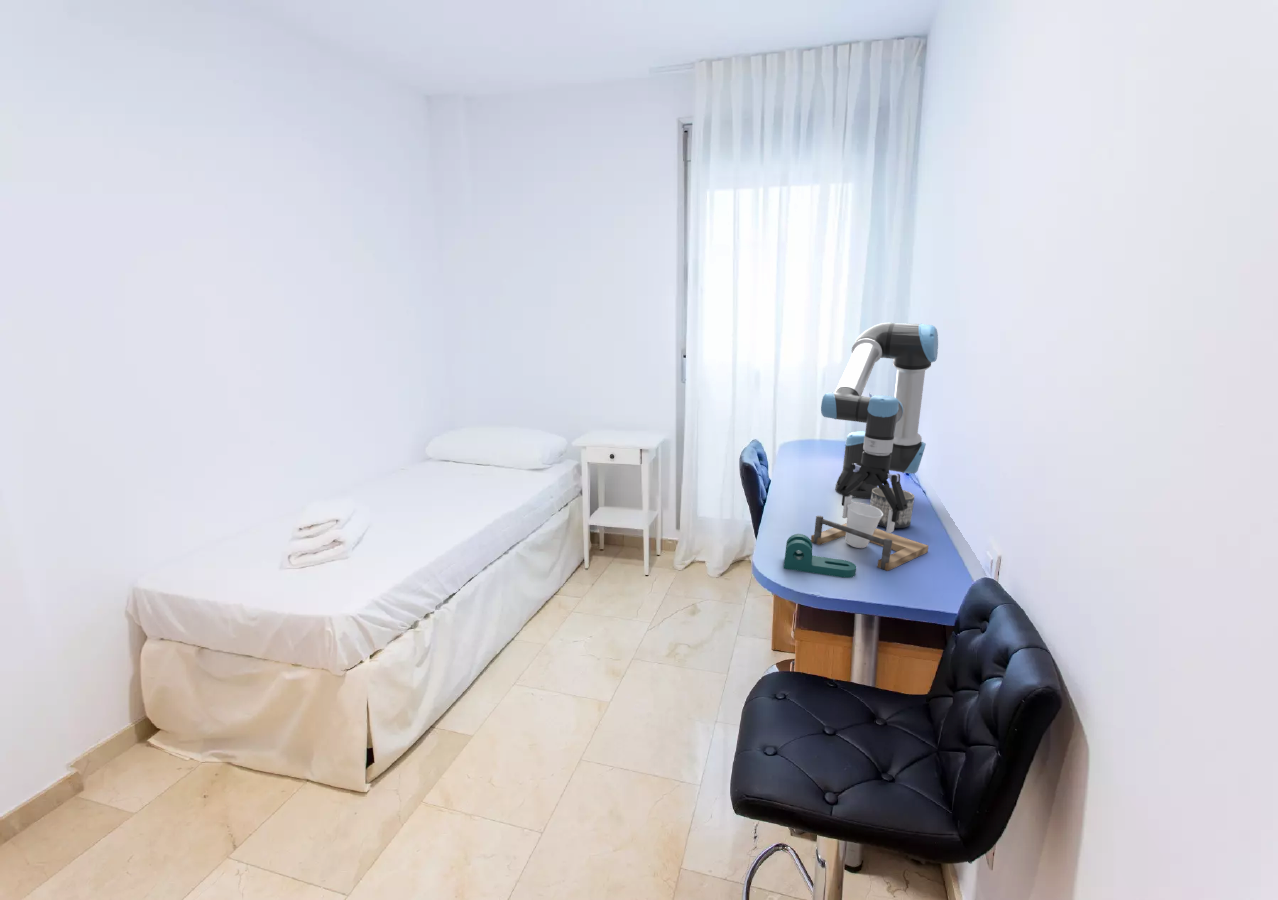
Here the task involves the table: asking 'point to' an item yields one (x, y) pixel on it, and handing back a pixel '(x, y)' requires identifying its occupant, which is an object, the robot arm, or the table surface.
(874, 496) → the planter
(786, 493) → the table surface
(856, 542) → the cup
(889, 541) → the wooden frame with crossbar
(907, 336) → the robot arm
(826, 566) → the bracket
